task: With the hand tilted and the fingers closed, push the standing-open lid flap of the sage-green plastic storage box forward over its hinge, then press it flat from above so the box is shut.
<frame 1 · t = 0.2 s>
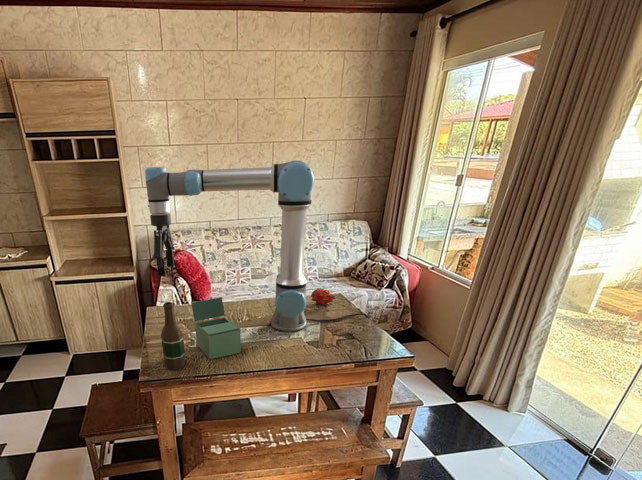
hand: (166, 270, 161), 28 cm above the table, tool pointing down, fingers open, 13 cm apart
flap: (208, 309, 162), point 14 cm above the table, hinge at 110.0°
container: (218, 348, 162), on the table
beer bottle: (175, 365, 151), on the table
dragon fruit: (322, 304, 202), on the table
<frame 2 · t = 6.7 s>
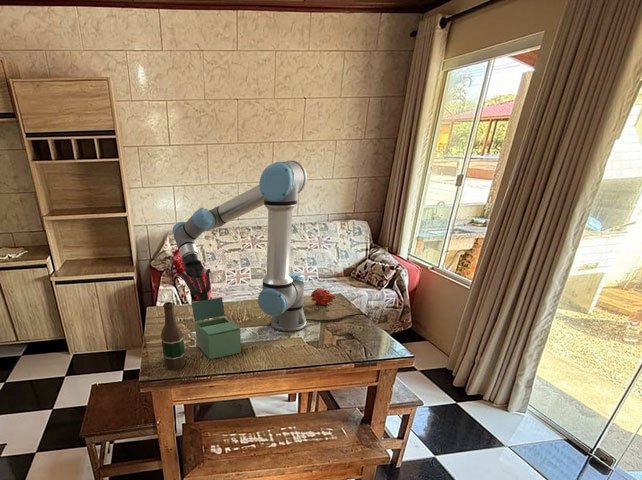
hand: (206, 308, 163), 14 cm above the table, tool tilted 45°, fingers closed
flap: (208, 309, 162), point 14 cm above the table, hinge at 107.7°, touching gripper
everything else where it was.
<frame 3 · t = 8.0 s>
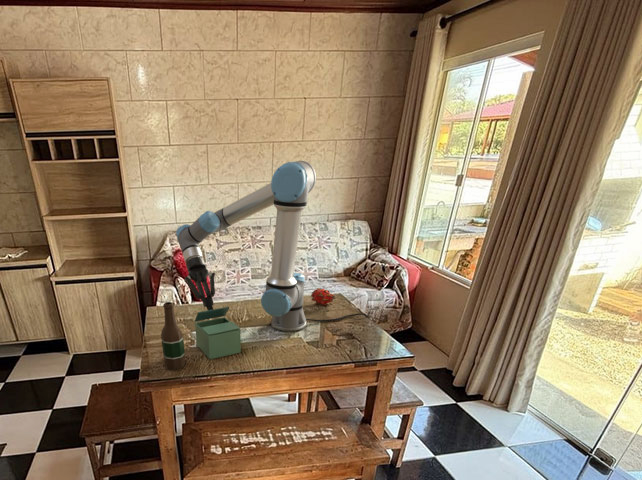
hand: (211, 313, 159), 13 cm above the table, tool tilted 45°, fingers closed
flap: (212, 314, 159), point 13 cm above the table, hinge at 45.9°
everything else where it was.
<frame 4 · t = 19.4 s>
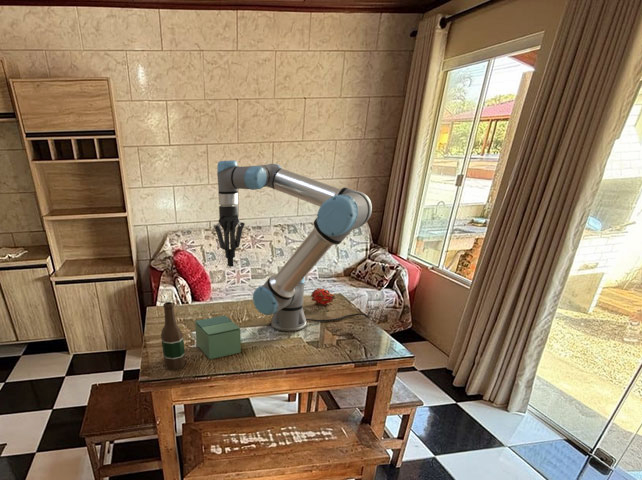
hand: (230, 265, 170), 26 cm above the table, tool pointing down, fingers closed
flap: (213, 321, 160), point 10 cm above the table, hinge at 0.5°
everything else where it was.
at the end: flap at +0° (first picture: +110°); beer bottle moved 0.2 cm from its start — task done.
